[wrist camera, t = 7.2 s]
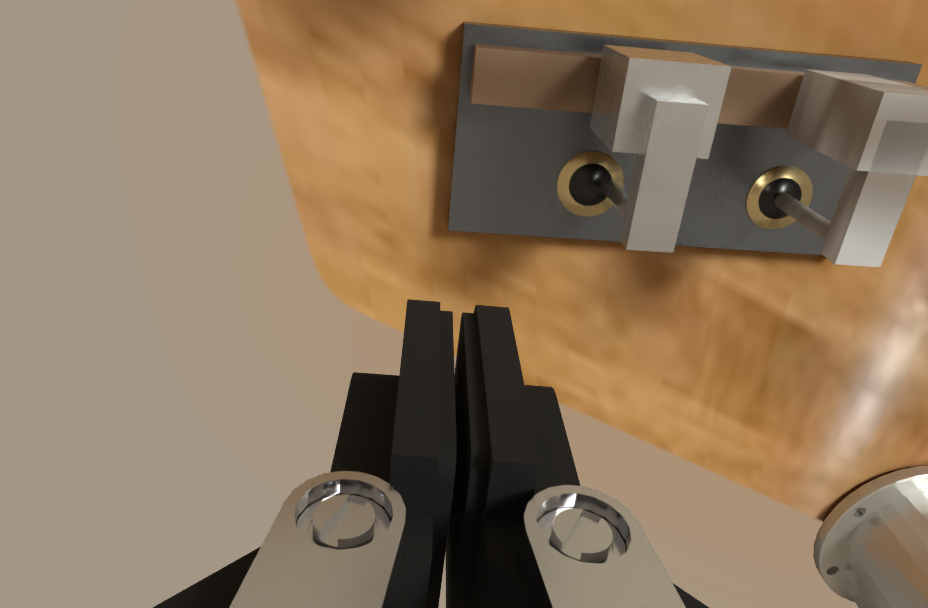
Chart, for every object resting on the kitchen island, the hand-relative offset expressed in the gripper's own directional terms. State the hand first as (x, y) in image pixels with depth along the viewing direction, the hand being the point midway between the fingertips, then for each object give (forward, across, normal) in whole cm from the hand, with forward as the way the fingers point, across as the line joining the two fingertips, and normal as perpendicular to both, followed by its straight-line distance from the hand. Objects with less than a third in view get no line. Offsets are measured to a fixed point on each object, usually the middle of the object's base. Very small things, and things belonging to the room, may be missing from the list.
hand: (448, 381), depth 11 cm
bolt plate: (+25, -12, +1) cm, 27 cm away
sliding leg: (+23, -9, 0) cm, 25 cm away
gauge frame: (+24, -12, 0) cm, 26 cm away
